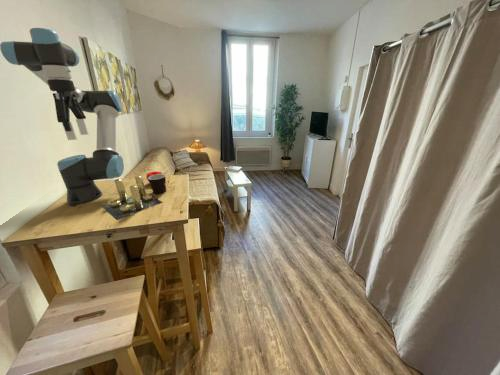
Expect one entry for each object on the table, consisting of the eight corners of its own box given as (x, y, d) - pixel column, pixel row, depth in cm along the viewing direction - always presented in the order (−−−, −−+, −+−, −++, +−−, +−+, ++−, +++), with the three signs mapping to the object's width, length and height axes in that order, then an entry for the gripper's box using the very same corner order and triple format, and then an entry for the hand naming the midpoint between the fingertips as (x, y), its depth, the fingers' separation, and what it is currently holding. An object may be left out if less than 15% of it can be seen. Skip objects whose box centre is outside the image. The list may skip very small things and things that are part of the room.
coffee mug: (162, 197, 112) (159, 180, 108) (148, 196, 114) (144, 179, 110) (174, 188, 123) (171, 172, 119) (161, 188, 124) (157, 172, 120)
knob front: (119, 213, 95) (113, 191, 90) (121, 208, 99) (115, 187, 94) (142, 209, 98) (136, 187, 93) (143, 205, 101) (138, 184, 97)
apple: (163, 181, 135) (161, 169, 132) (164, 185, 127) (162, 173, 124) (148, 183, 132) (145, 171, 128) (148, 188, 124) (145, 176, 121)
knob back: (116, 207, 100) (110, 186, 96) (108, 206, 101) (101, 185, 96) (130, 198, 108) (124, 178, 104) (122, 198, 109) (116, 178, 105)
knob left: (154, 198, 108) (149, 178, 104) (145, 201, 105) (140, 181, 101) (145, 193, 114) (141, 174, 109) (137, 196, 110) (132, 177, 106)
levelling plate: (102, 208, 102) (100, 202, 101) (145, 194, 117) (143, 188, 115) (117, 222, 90) (115, 215, 89) (163, 204, 105) (162, 198, 103)
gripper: (56, 76, 69) (78, 141, 77) (83, 82, 91) (98, 132, 99) (27, 76, 67) (54, 143, 75) (62, 82, 88) (79, 133, 97)
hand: (79, 137), depth 87 cm, fingers open, 13 cm apart
